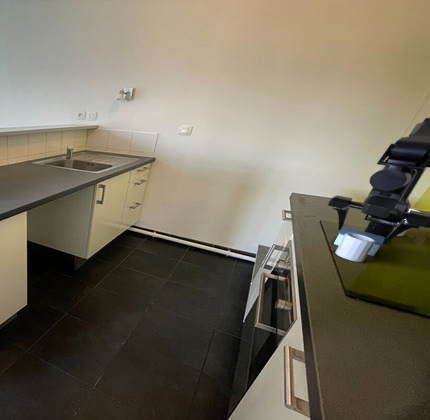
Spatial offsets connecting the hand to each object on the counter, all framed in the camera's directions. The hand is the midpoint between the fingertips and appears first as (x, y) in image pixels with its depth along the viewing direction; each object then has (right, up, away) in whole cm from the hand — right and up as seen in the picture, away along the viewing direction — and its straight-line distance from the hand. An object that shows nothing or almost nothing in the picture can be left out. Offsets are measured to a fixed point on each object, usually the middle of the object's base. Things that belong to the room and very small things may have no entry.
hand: (361, 235), depth 74 cm
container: (+10, -5, +10) cm, 14 cm away
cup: (0, -7, +3) cm, 7 cm away
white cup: (+39, -1, +23) cm, 45 cm away
